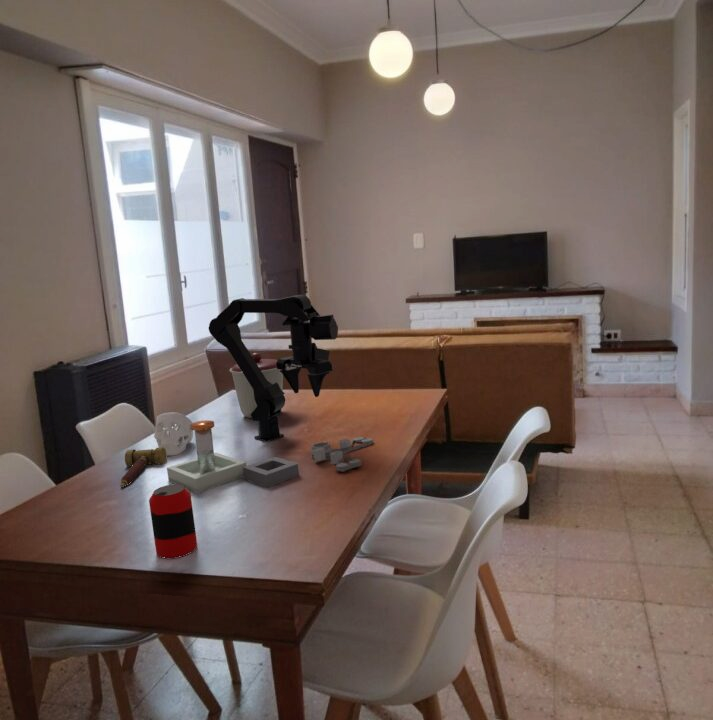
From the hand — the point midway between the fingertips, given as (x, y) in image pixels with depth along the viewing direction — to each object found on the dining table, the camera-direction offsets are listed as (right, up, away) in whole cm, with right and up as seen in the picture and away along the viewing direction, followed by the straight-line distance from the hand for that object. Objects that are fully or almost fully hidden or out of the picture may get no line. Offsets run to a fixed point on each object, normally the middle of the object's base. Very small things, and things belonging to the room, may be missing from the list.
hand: (306, 394), depth 192 cm
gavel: (-43, -20, -16) cm, 50 cm away
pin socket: (-6, -19, -27) cm, 34 cm away
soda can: (-20, -26, -64) cm, 72 cm away
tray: (-23, -19, -24) cm, 38 cm away
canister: (-17, -9, +35) cm, 40 cm away
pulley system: (+10, -16, -15) cm, 24 cm away
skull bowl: (-38, -16, +4) cm, 42 cm away
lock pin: (-23, -18, -24) cm, 38 cm away
